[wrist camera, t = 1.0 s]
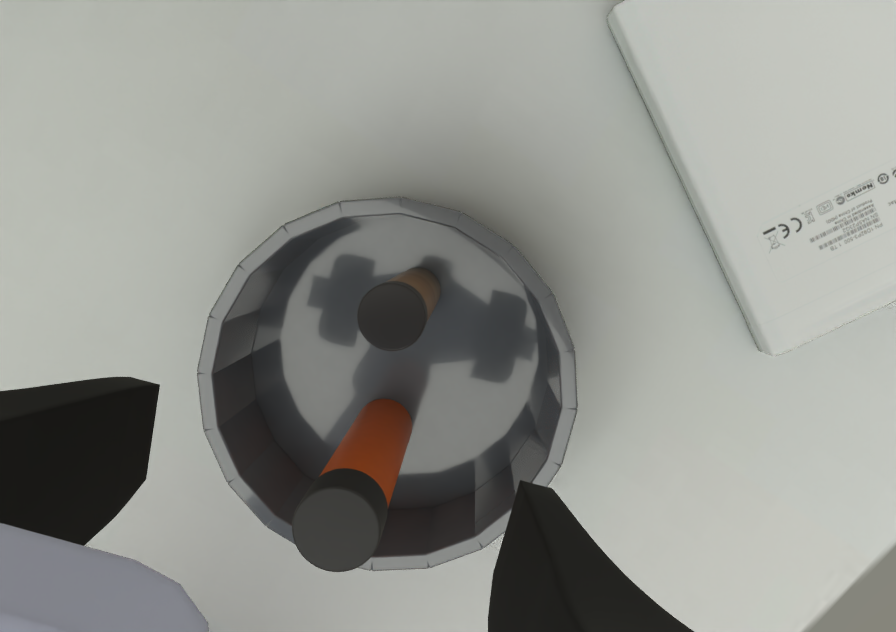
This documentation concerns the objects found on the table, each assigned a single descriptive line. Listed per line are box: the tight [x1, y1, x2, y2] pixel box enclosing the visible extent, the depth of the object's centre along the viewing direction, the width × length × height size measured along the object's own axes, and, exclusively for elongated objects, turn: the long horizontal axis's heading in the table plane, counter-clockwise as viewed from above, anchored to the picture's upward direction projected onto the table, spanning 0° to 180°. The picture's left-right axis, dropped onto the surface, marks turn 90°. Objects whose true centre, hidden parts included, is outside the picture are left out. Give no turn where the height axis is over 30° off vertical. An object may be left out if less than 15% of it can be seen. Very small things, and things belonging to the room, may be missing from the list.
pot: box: [197, 197, 578, 571], centre depth 22 cm, size 11×11×4 cm
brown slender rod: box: [357, 268, 441, 351], centre depth 20 cm, size 2×2×8 cm
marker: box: [292, 399, 412, 572], centre depth 20 cm, size 2×2×8 cm
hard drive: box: [607, 0, 896, 356], centre depth 22 cm, size 2×8×12 cm
